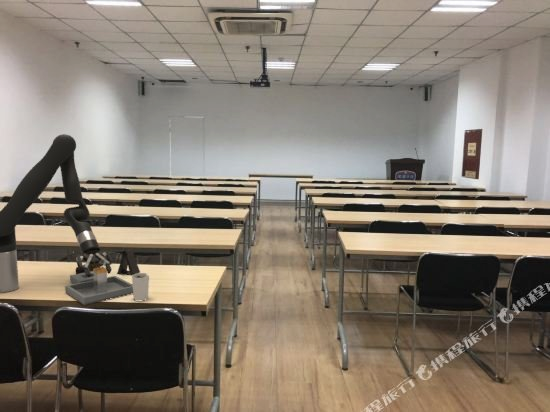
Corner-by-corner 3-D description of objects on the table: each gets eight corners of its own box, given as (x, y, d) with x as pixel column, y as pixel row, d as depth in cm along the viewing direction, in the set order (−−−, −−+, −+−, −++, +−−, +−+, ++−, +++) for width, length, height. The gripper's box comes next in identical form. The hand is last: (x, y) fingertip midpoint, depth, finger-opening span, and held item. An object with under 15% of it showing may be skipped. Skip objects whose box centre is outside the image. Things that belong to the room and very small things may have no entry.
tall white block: (98, 293, 182) (97, 270, 181) (94, 291, 185) (93, 268, 184) (107, 291, 185) (106, 268, 184) (103, 289, 188) (102, 266, 187)
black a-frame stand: (139, 272, 216) (139, 248, 214) (133, 275, 210) (133, 251, 208) (123, 270, 218) (122, 247, 216) (116, 274, 212) (116, 250, 210)
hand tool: (84, 276, 208) (83, 265, 207) (75, 276, 208) (74, 264, 208) (109, 264, 230) (109, 254, 229) (101, 263, 231) (101, 253, 230)
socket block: (80, 287, 191) (80, 281, 190) (70, 281, 199) (69, 275, 199) (107, 282, 199) (106, 276, 199) (96, 276, 207) (95, 270, 207)
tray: (84, 305, 170) (83, 298, 170) (65, 292, 184) (65, 285, 184) (136, 292, 186) (136, 286, 185) (115, 282, 200) (115, 275, 199)
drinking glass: (129, 300, 176) (128, 277, 175) (137, 295, 183) (136, 272, 181) (144, 302, 175) (144, 278, 174) (152, 296, 182) (151, 273, 180)
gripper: (73, 240, 183) (85, 273, 177) (106, 236, 193) (118, 266, 187) (69, 250, 188) (80, 282, 181) (101, 246, 198) (113, 275, 191)
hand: (99, 274), depth 184 cm, fingers open, 8 cm apart
